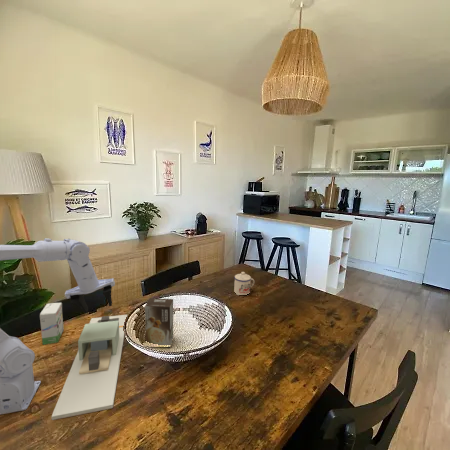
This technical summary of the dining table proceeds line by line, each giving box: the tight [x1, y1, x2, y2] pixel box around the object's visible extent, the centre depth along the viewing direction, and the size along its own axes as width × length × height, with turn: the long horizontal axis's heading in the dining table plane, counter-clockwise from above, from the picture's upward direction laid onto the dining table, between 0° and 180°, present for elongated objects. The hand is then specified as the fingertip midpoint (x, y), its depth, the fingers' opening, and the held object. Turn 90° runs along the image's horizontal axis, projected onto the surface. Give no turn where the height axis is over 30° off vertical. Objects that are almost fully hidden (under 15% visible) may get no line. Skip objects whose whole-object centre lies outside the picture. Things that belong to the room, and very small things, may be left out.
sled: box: [79, 315, 113, 374], centre depth 88 cm, size 24×8×5 cm, turn 16°
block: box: [91, 340, 109, 351], centre depth 88 cm, size 5×5×4 cm
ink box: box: [39, 302, 64, 345], centre depth 94 cm, size 8×5×12 cm, turn 19°
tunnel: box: [77, 320, 119, 360], centre depth 88 cm, size 10×11×8 cm
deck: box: [51, 314, 128, 421], centre depth 87 cm, size 46×14×1 cm, turn 16°
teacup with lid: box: [233, 271, 255, 296], centre depth 138 cm, size 12×9×12 cm
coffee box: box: [144, 297, 174, 346], centre depth 93 cm, size 9×6×16 cm
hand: (98, 307), depth 86 cm, fingers open, 7 cm apart
